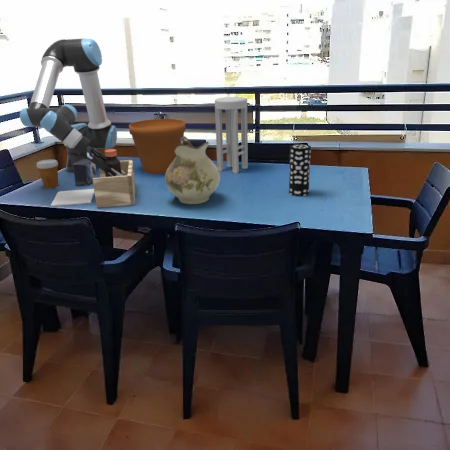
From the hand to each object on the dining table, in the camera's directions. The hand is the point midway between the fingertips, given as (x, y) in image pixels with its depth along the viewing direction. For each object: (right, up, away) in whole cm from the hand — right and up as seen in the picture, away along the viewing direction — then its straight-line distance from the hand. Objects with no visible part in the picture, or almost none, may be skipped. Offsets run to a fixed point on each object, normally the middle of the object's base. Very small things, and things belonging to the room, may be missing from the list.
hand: (122, 177), depth 188 cm
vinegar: (-3, -8, +3) cm, 9 cm away
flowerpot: (+11, +9, +41) cm, 43 cm away
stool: (+48, +8, +36) cm, 61 cm away
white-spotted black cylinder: (+75, -7, -2) cm, 76 cm away
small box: (-22, 0, +22) cm, 31 cm away
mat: (-21, -9, +2) cm, 23 cm away
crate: (-3, -8, +3) cm, 9 cm away
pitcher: (+30, -10, -5) cm, 32 cm away
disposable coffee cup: (-38, -3, +18) cm, 42 cm away
